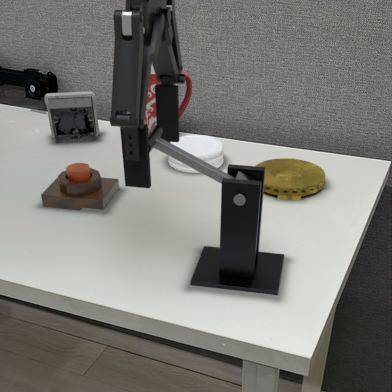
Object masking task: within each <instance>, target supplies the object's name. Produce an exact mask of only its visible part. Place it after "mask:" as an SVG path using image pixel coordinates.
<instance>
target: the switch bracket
mask: <svg viewBox="0 0 392 392" xmlns="http://www.w3.org/2000/svg"><path fill="white" fill-rule="evenodd" d="M226 167H227V169H226V173H227V174H229V175H231V176H233V177H234V178H235V177H236V175H237V173H238V171H240V172H242V173H243V174H245V175H247V176H249V177H251V178H253V179H255V180H256V181H252V180H240V179H228V178H223V180H222V184H221V192H220V194H221V195H220V223H219V225H220V226H219V227H220V229H219V231H220V232H219V247H218V246H209V245H203V248H202V251H201V253H200V256H199V258H198V261H197V264H196V265H195V266H196V267H195V268H194V271H193V274H192V277H191V279H190V281H189V282H190V286H194V287H202V288H212V289H221V290H230V291H237V292H247V293H254V294H262V295H263V294H264V295H272V296H278V295H279V289H280V283H281V279H282V272H283V265H284V260H285V254H284V253H275V252H265V251H260V240H261V229H262V218H263V217H262V216H263V203H264V180H265V167H257V166H256V165H243V164H228V165H227V166H226Z"/></svg>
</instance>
